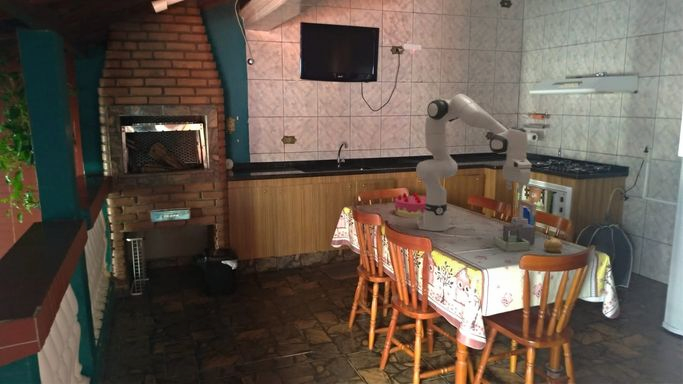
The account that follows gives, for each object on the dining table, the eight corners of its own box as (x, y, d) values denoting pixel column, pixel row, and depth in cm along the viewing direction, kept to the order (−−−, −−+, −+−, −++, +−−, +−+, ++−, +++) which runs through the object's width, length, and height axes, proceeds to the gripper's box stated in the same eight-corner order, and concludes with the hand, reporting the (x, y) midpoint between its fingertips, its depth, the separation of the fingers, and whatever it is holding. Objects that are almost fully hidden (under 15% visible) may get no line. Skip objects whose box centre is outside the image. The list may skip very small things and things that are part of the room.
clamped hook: (516, 224, 259) (518, 199, 257) (520, 224, 260) (521, 199, 257) (531, 231, 246) (532, 204, 243) (534, 231, 246) (536, 204, 244)
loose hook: (502, 246, 247) (503, 225, 246) (519, 245, 249) (520, 224, 247) (504, 247, 245) (505, 226, 244) (521, 246, 247) (522, 225, 245)
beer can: (513, 235, 270) (515, 205, 268) (525, 233, 274) (527, 204, 271) (525, 238, 263) (527, 208, 260) (537, 236, 266) (539, 206, 264)
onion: (557, 249, 244) (558, 234, 243) (565, 253, 237) (566, 239, 235) (540, 249, 244) (541, 234, 243) (548, 254, 236) (549, 239, 235)
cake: (393, 209, 338) (393, 191, 336) (435, 209, 337) (436, 191, 335) (395, 219, 311) (396, 198, 308) (442, 219, 309) (442, 199, 307)
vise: (507, 238, 264) (508, 216, 262) (521, 237, 265) (522, 216, 263) (520, 245, 250) (521, 222, 248) (535, 244, 252) (536, 222, 250)
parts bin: (493, 244, 252) (494, 236, 252) (516, 243, 254) (516, 235, 254) (506, 251, 240) (506, 243, 239) (529, 250, 242) (530, 242, 241)
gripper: (499, 159, 249) (498, 187, 252) (520, 164, 230) (518, 195, 232) (511, 159, 250) (510, 187, 253) (533, 164, 231) (531, 194, 233)
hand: (514, 191), depth 242 cm, fingers open, 8 cm apart
